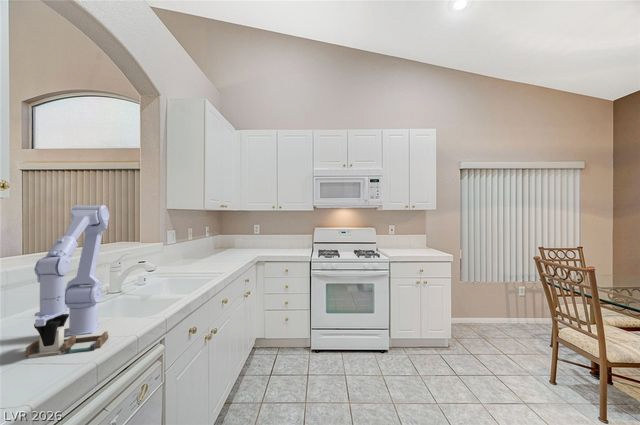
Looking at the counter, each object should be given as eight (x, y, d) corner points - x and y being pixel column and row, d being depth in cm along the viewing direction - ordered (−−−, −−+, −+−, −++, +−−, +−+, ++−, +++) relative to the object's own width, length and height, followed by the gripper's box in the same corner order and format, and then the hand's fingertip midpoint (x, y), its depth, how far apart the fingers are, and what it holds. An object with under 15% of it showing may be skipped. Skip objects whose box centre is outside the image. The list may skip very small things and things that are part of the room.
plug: (45, 348, 93) (45, 324, 93) (63, 346, 95) (64, 323, 95) (39, 353, 90) (39, 328, 90) (58, 350, 91) (58, 326, 92)
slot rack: (40, 345, 95) (40, 337, 95) (108, 338, 101) (108, 330, 101) (23, 358, 86) (23, 349, 86) (98, 349, 92) (98, 341, 92)
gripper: (48, 292, 98) (47, 335, 98) (21, 304, 84) (21, 355, 84) (75, 290, 100) (74, 332, 100) (53, 302, 87) (53, 351, 87)
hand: (52, 342), depth 92 cm, fingers closed on plug, 3 cm apart
